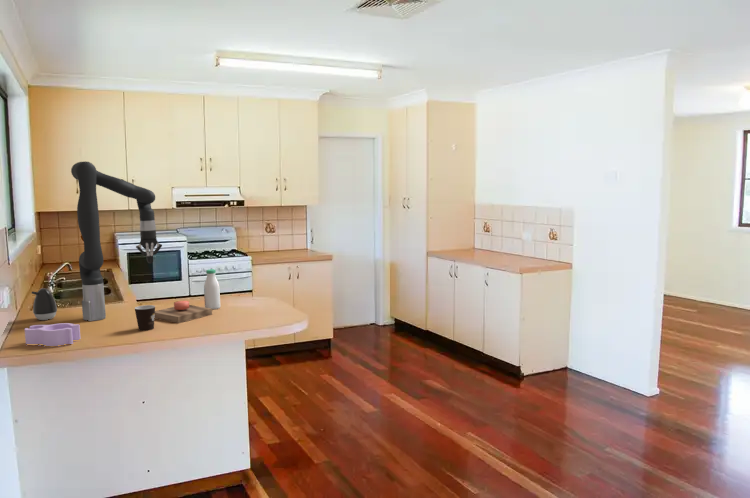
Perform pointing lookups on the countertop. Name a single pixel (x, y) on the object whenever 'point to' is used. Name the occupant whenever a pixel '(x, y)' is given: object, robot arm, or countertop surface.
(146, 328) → the coffee mug
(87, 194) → the robot arm
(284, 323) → the countertop surface
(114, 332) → the countertop surface
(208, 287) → the milk bottle
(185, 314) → the wooden cutting board
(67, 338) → the purple low wavy piece
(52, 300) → the pump dispenser
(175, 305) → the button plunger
